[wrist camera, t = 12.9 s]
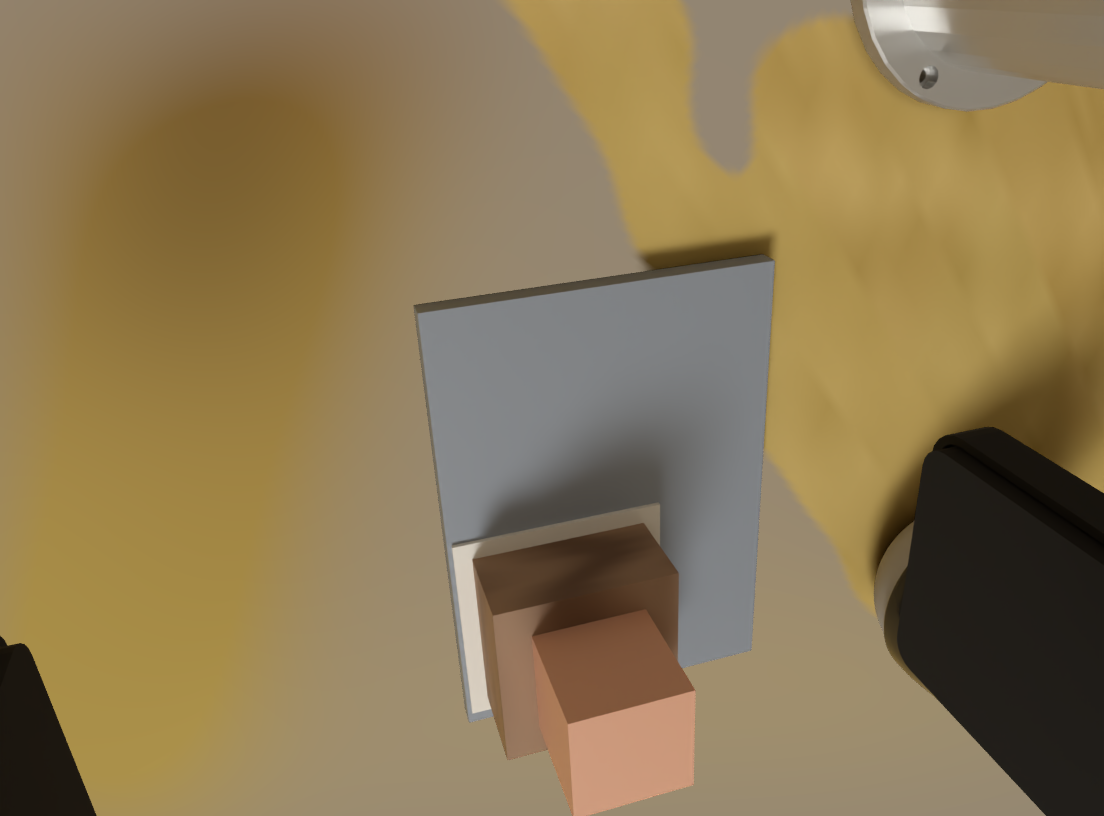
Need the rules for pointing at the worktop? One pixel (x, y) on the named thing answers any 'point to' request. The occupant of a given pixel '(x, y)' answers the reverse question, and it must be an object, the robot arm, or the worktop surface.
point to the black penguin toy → (893, 593)
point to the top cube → (614, 712)
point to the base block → (562, 611)
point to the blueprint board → (605, 433)
